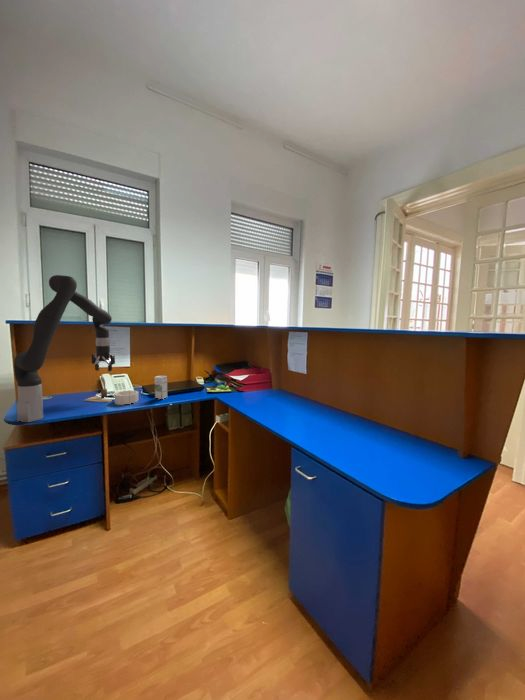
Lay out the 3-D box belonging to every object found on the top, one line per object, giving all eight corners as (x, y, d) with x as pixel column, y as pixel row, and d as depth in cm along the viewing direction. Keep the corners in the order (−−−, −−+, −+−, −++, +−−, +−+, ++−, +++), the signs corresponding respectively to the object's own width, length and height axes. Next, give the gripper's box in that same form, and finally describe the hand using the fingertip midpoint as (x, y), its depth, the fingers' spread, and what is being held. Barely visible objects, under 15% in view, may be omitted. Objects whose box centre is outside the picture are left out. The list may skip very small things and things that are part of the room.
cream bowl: (130, 405, 171) (130, 396, 170) (110, 404, 173) (109, 394, 172) (142, 399, 183) (142, 391, 183) (123, 398, 185) (123, 389, 185)
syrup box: (167, 397, 190) (167, 375, 188) (162, 400, 184) (162, 377, 183) (160, 396, 191) (159, 375, 190) (154, 399, 185) (154, 376, 184)
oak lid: (107, 403, 176) (107, 393, 175) (83, 402, 178) (83, 392, 177) (123, 396, 191) (123, 387, 191) (101, 395, 194) (101, 386, 193)
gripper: (88, 345, 179) (88, 371, 180) (109, 345, 176) (110, 372, 178) (96, 344, 186) (97, 369, 188) (117, 344, 184) (117, 370, 185)
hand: (103, 370), depth 183 cm, fingers open, 8 cm apart
